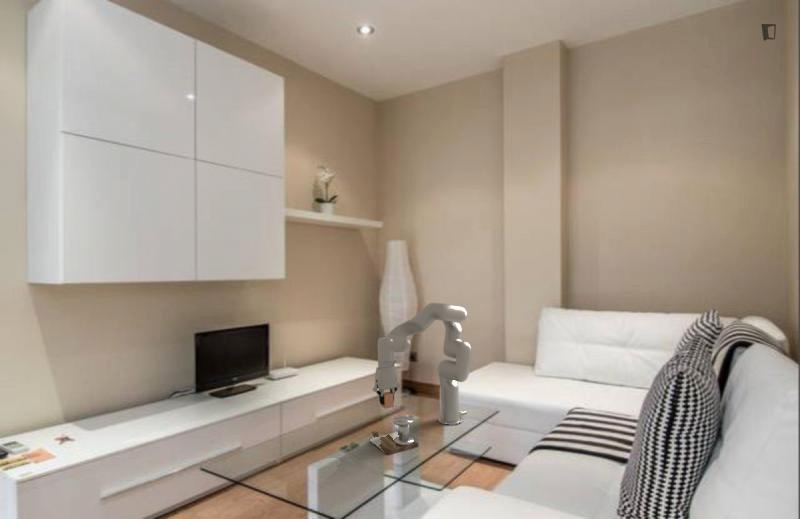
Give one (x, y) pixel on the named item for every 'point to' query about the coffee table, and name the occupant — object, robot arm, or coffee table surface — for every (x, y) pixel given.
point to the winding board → (398, 448)
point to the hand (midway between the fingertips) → (386, 403)
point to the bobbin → (403, 431)
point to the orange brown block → (388, 400)
